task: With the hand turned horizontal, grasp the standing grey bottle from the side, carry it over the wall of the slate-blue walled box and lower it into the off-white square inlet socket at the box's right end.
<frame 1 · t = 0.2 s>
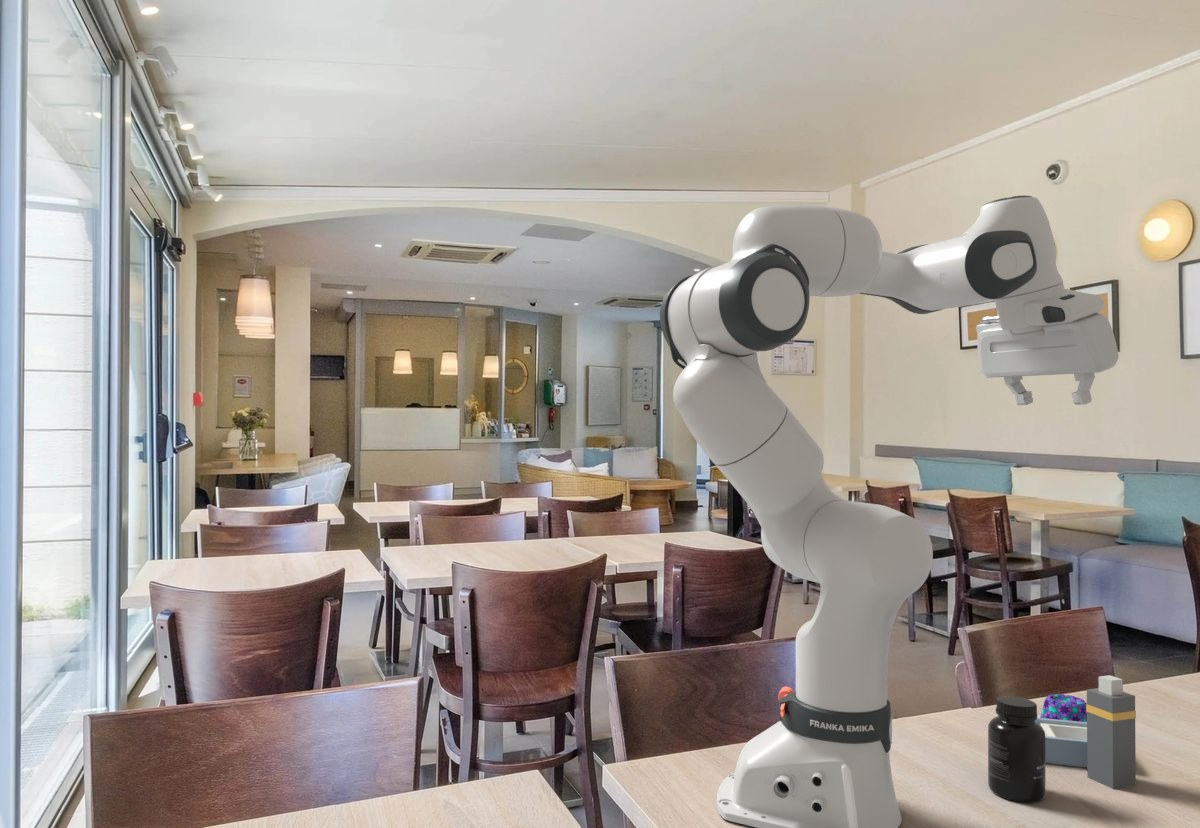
hand: (1053, 403, 120), 52 cm above the table, tool tilted 20°, fingers open, 8 cm apart
supplement bottle: (1016, 794, 111), on the table
walled box: (1056, 753, 124), on the table
grey bottle: (1111, 780, 114), on the table
pudding: (1066, 733, 134), on the table
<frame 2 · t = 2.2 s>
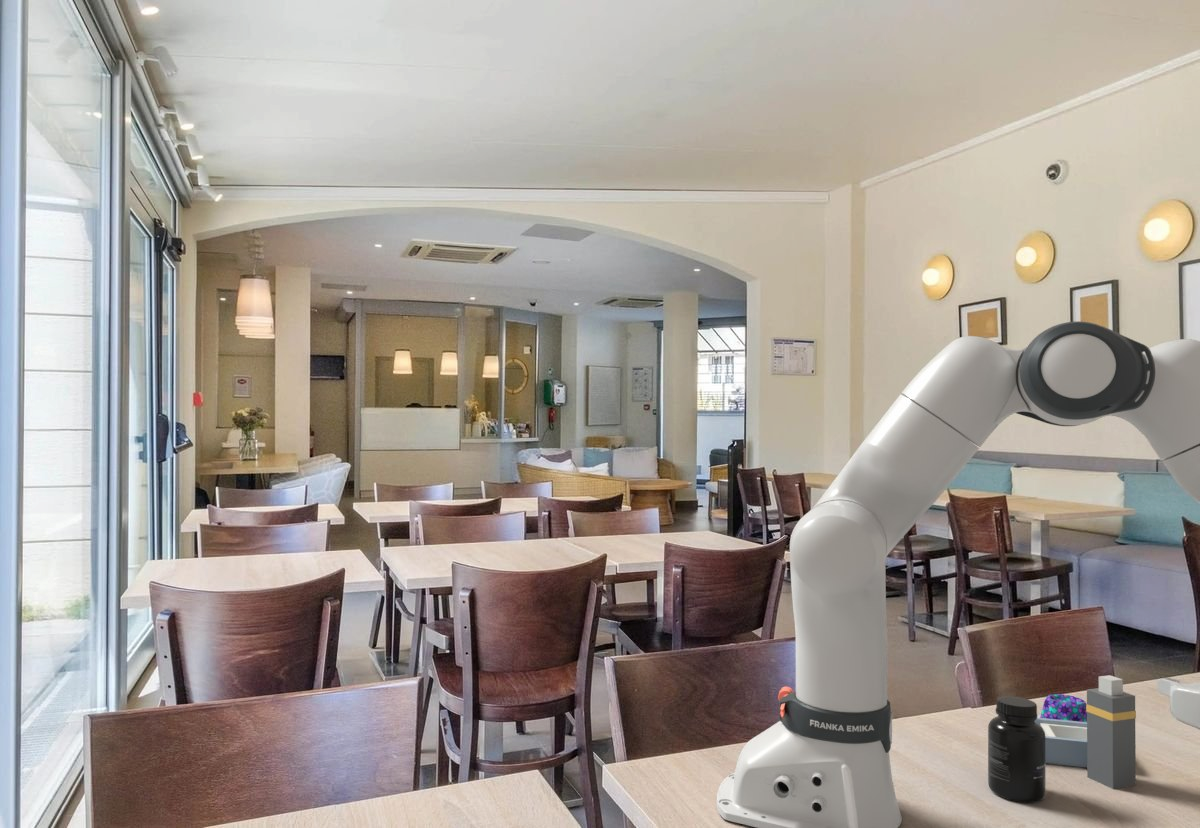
hand: (1190, 680, 104), 17 cm above the table, tool horizontal, fingers open, 8 cm apart
nothing on the table moved.
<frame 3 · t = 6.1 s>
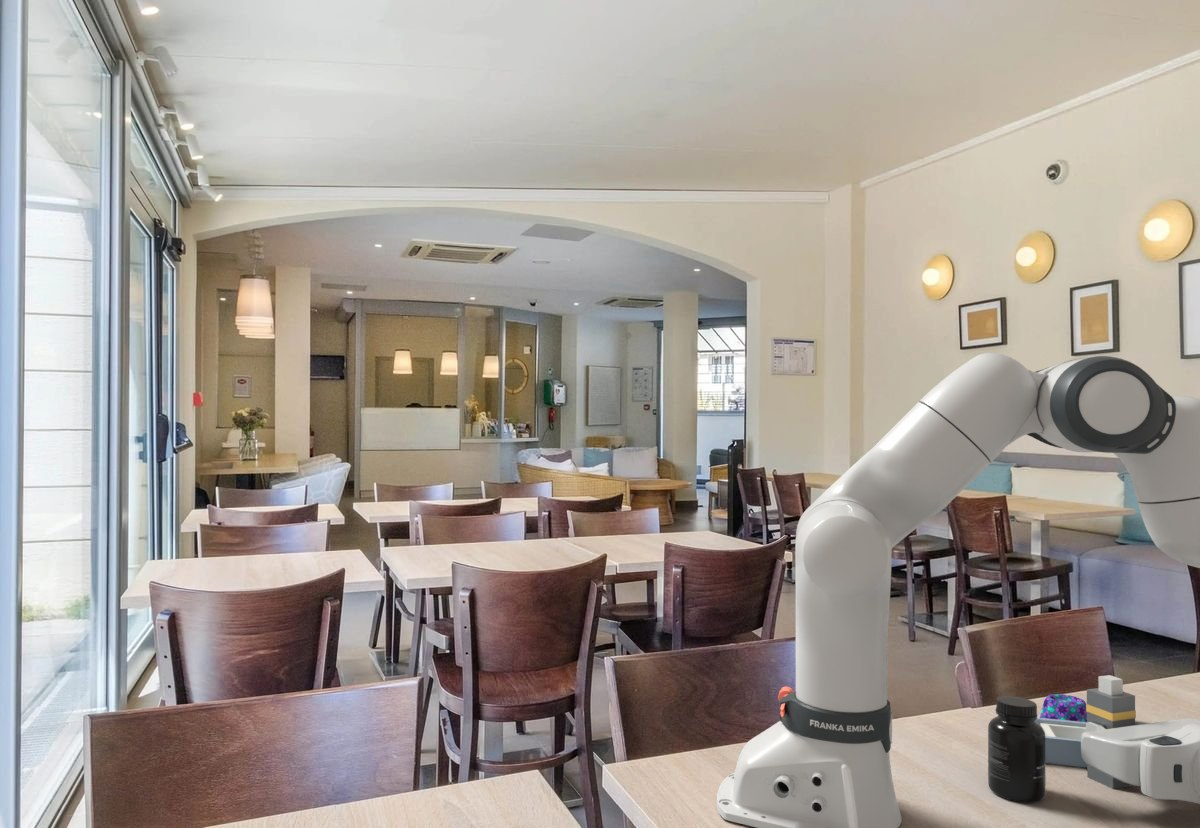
hand: (1105, 725, 115), 7 cm above the table, tool horizontal, fingers closed on grey bottle, 4 cm apart
grey bottle: (1111, 780, 114), on the table, touching gripper
everything else where it was.
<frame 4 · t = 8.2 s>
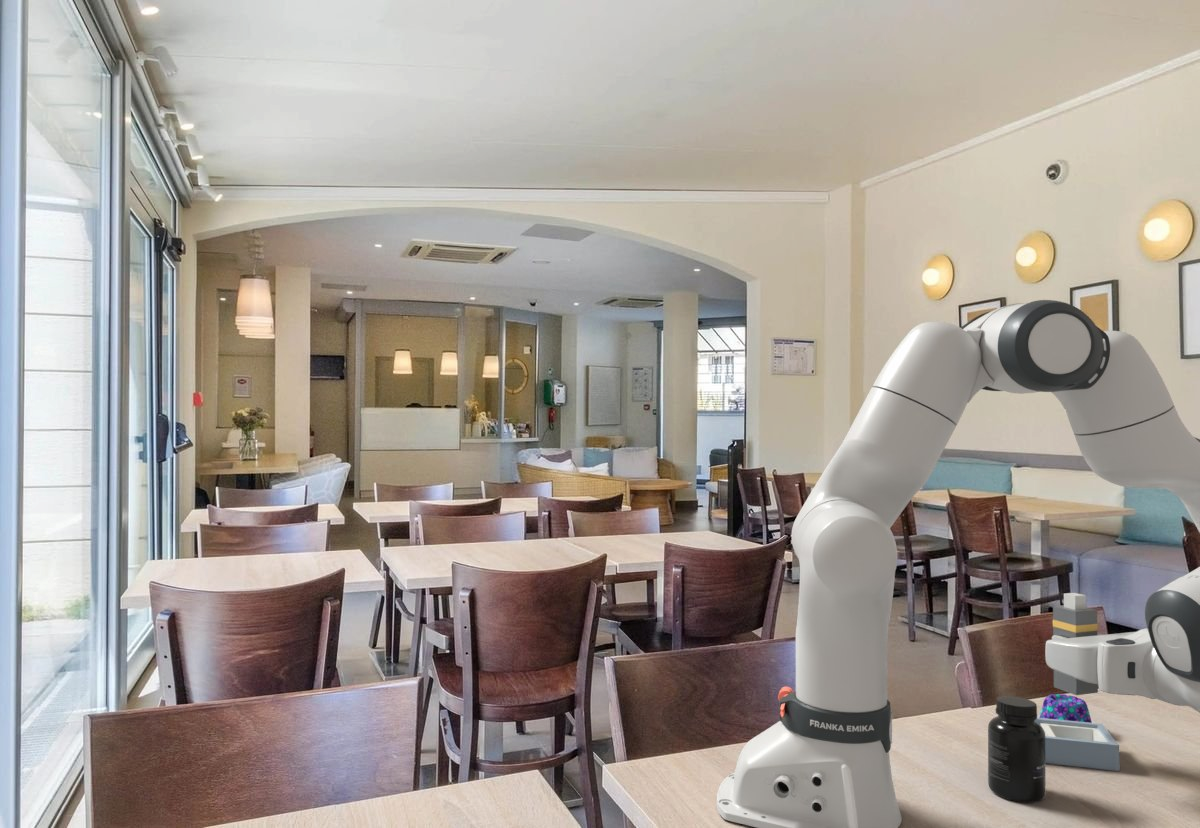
hand: (1069, 639, 124), 17 cm above the table, tool horizontal, fingers closed on grey bottle, 4 cm apart
grey bottle: (1075, 689, 123), point 10 cm above the table, touching gripper
everything else where it was.
when the fingers open (9 cm above the table, at t = 10.2 s): grey bottle drops 1 cm, resting on walled box.
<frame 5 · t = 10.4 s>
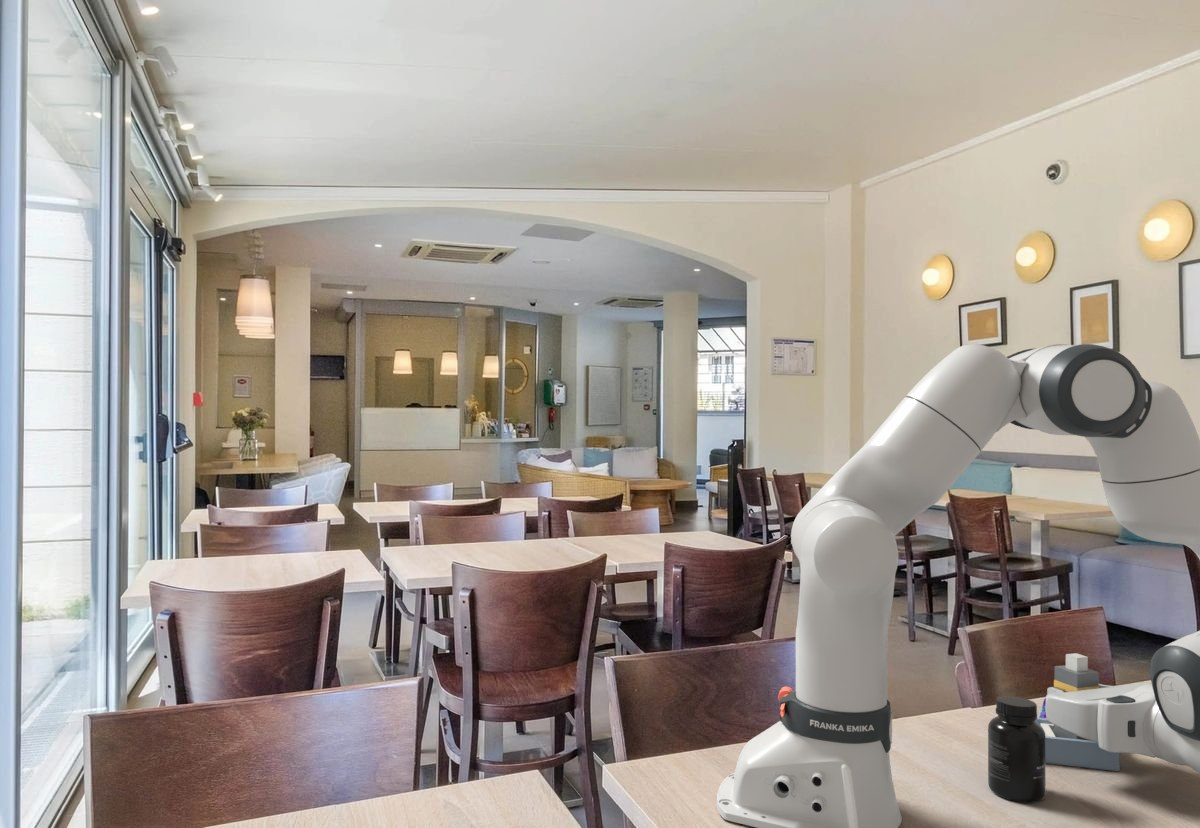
hand: (1070, 690, 124), 9 cm above the table, tool horizontal, fingers open, 6 cm apart
grey bottle: (1075, 750, 123), point 1 cm above the table, touching walled box
everything else where it was.
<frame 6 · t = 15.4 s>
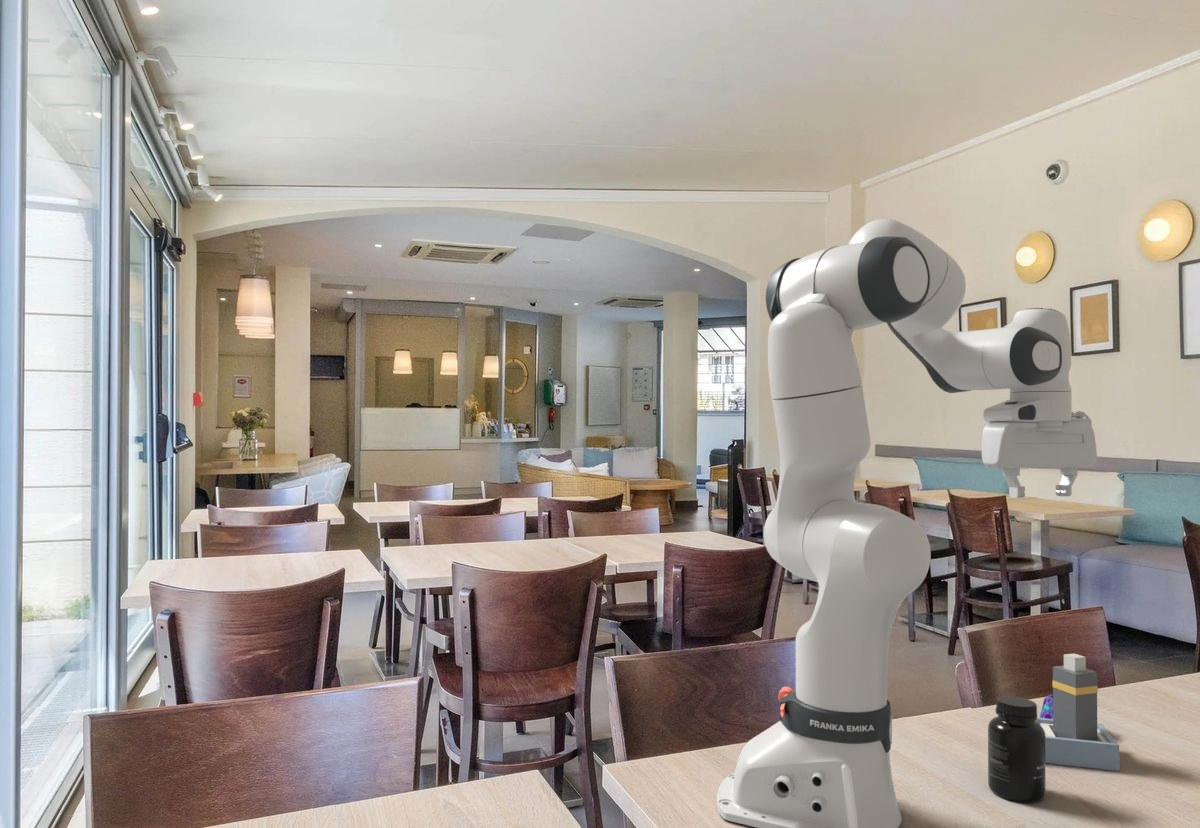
hand: (1040, 496, 135), 37 cm above the table, tool pointing down, fingers open, 8 cm apart
at the end: grey bottle 0.1 cm from the target spot on the walled box, point 0.6 cm above the walled box's base; grey bottle tilted 0°; the gripper is holding nothing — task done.
